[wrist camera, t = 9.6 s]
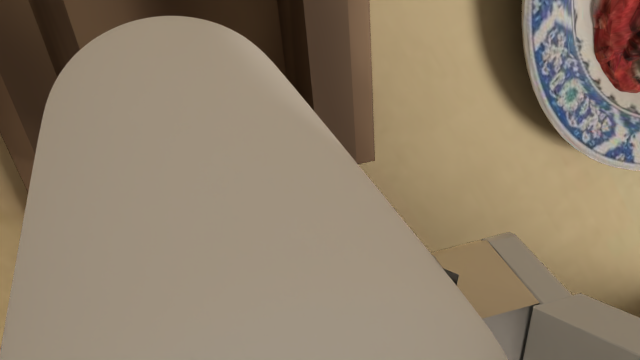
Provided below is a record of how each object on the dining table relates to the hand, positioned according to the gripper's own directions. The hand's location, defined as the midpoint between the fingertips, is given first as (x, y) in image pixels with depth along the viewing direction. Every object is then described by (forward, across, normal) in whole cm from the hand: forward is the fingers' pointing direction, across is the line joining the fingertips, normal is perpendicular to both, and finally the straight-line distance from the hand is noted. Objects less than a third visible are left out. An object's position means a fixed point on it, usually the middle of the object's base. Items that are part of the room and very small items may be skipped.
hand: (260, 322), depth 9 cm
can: (+8, +1, 0) cm, 8 cm away
